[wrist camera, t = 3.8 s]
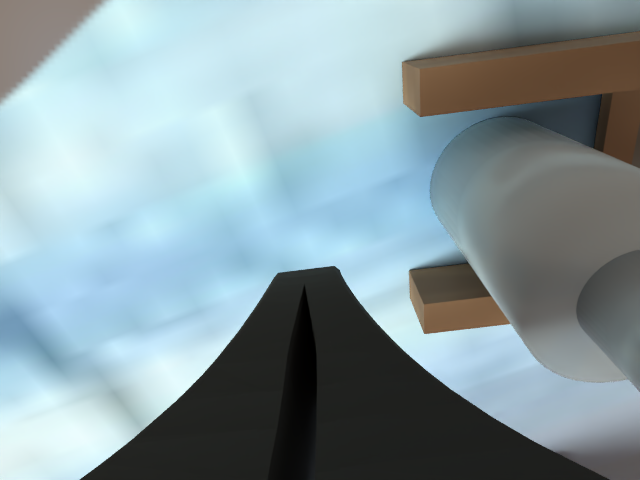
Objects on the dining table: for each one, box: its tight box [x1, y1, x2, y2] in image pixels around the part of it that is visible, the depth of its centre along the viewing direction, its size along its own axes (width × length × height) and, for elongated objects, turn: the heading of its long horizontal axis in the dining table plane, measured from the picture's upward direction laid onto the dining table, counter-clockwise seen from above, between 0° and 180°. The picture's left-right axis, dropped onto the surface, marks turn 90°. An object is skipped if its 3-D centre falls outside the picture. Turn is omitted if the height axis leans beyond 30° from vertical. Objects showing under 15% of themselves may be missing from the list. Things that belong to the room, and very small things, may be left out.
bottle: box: [430, 117, 640, 392], centre depth 10 cm, size 4×4×11 cm
